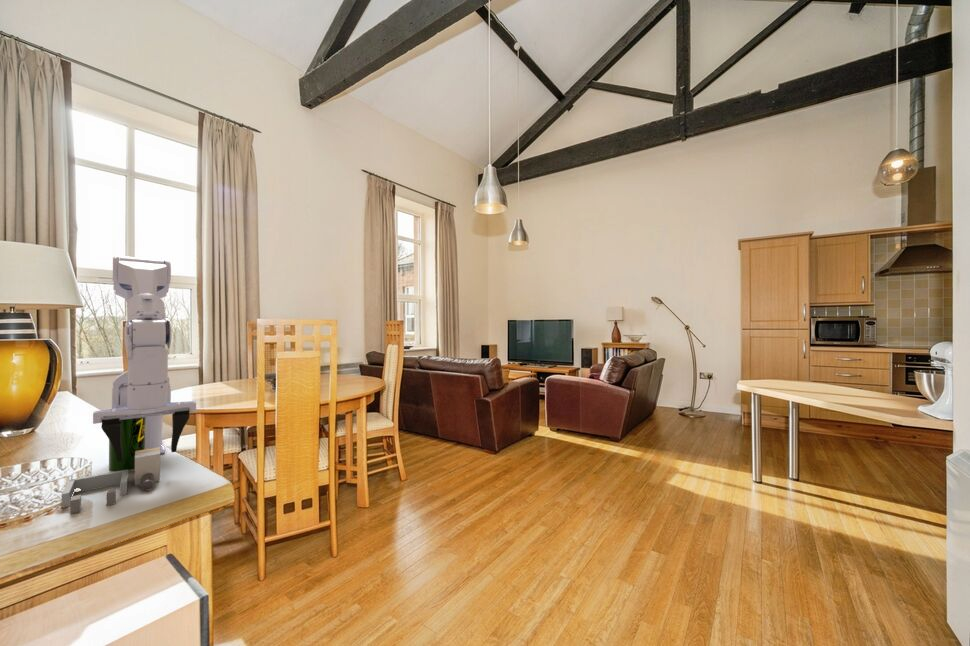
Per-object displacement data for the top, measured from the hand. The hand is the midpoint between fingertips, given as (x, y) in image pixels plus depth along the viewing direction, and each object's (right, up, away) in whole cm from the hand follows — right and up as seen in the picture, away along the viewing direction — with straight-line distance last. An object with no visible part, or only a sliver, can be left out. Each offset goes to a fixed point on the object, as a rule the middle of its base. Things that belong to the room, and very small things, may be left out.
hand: (147, 455), depth 73 cm
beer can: (-8, -5, +4) cm, 10 cm away
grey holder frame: (-2, -4, -8) cm, 9 cm away
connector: (+2, -5, -2) cm, 5 cm away
